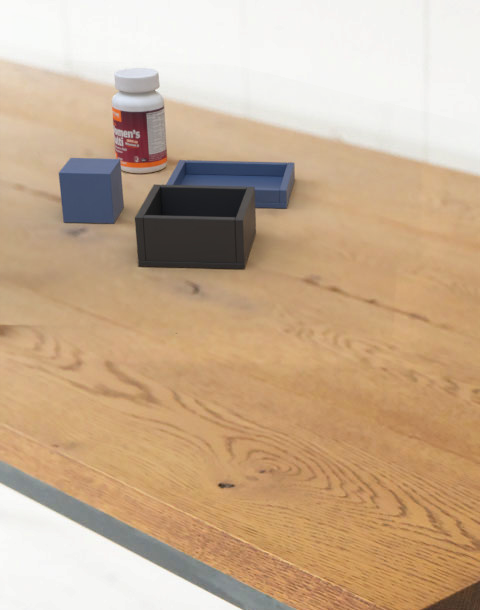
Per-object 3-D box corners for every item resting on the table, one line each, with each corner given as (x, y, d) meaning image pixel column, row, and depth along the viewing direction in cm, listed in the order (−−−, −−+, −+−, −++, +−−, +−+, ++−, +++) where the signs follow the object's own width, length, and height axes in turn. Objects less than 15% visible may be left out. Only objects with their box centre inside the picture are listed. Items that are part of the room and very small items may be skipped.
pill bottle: (106, 169, 162) (98, 74, 157) (137, 156, 167) (130, 64, 161) (147, 177, 160) (141, 80, 154) (178, 164, 164) (172, 70, 159)
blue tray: (165, 205, 151) (164, 187, 150) (180, 177, 160) (179, 159, 159) (286, 208, 150) (286, 190, 149) (294, 179, 159) (294, 162, 158)
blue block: (63, 222, 145) (58, 172, 143) (74, 206, 150) (70, 157, 147) (114, 223, 145) (110, 173, 142) (124, 207, 150) (120, 158, 147)
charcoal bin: (138, 266, 134) (134, 217, 131) (156, 230, 143) (153, 184, 141) (244, 269, 134) (242, 219, 131) (256, 233, 143) (254, 186, 140)
